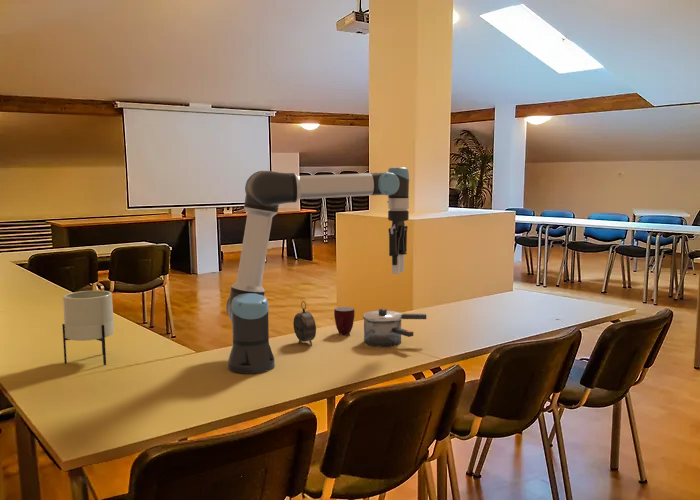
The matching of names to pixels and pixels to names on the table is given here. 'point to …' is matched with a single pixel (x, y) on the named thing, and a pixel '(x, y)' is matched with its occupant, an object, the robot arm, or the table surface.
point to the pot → (384, 333)
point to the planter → (88, 317)
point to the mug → (344, 319)
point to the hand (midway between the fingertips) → (397, 272)
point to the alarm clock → (304, 326)
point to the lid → (389, 316)
